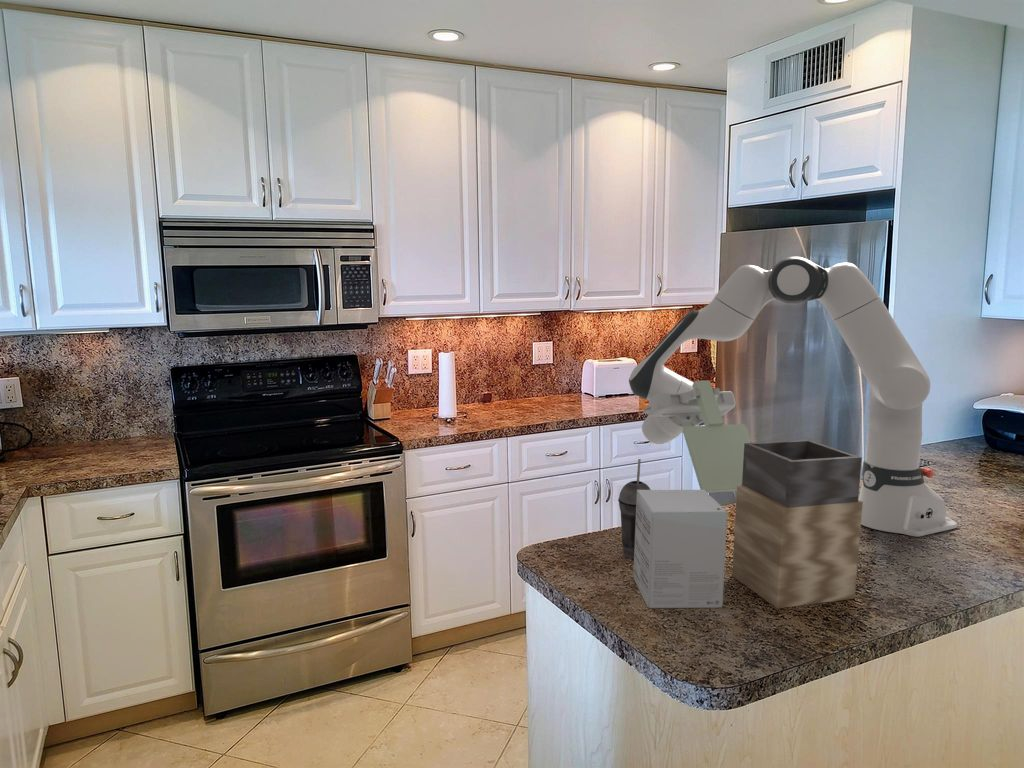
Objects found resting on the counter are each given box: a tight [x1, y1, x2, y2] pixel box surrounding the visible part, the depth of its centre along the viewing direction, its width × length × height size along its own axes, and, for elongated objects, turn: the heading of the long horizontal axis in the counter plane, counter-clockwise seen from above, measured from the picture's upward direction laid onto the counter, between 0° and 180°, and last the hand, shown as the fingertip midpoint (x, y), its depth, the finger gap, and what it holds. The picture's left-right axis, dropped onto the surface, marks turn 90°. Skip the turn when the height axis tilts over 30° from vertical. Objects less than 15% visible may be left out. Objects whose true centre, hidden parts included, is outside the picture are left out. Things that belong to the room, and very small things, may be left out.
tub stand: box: [731, 439, 863, 609], centre depth 129 cm, size 16×14×26 cm
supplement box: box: [632, 489, 728, 609], centre depth 127 cm, size 13×13×18 cm
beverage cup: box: [617, 458, 652, 560], centre depth 144 cm, size 7×7×20 cm
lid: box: [682, 380, 753, 494], centre depth 154 cm, size 15×26×2 cm
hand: (707, 391), depth 158 cm, fingers closed on lid, 3 cm apart
